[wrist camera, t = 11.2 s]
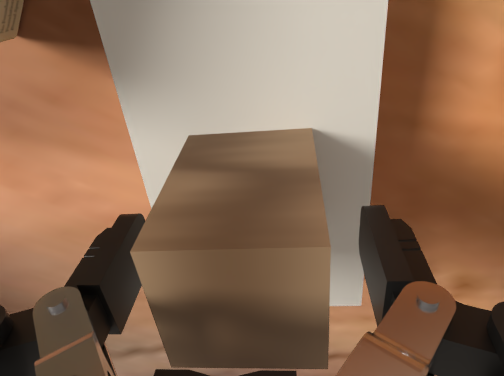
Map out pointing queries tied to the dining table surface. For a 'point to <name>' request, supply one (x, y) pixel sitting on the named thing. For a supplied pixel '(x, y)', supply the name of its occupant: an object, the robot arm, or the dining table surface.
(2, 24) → the skincare box
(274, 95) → the white block
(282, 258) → the walnut block
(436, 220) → the dining table surface
